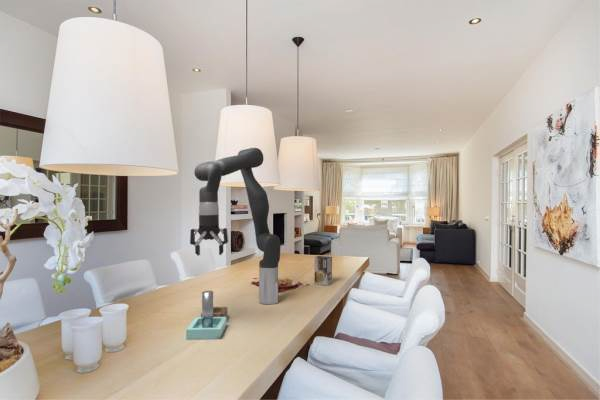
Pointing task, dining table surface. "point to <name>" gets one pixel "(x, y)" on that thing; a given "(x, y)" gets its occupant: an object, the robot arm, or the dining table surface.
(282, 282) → the plate with food
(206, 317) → the pin
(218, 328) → the tray
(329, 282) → the coffee box
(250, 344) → the dining table surface
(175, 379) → the dining table surface
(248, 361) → the dining table surface
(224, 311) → the holder
